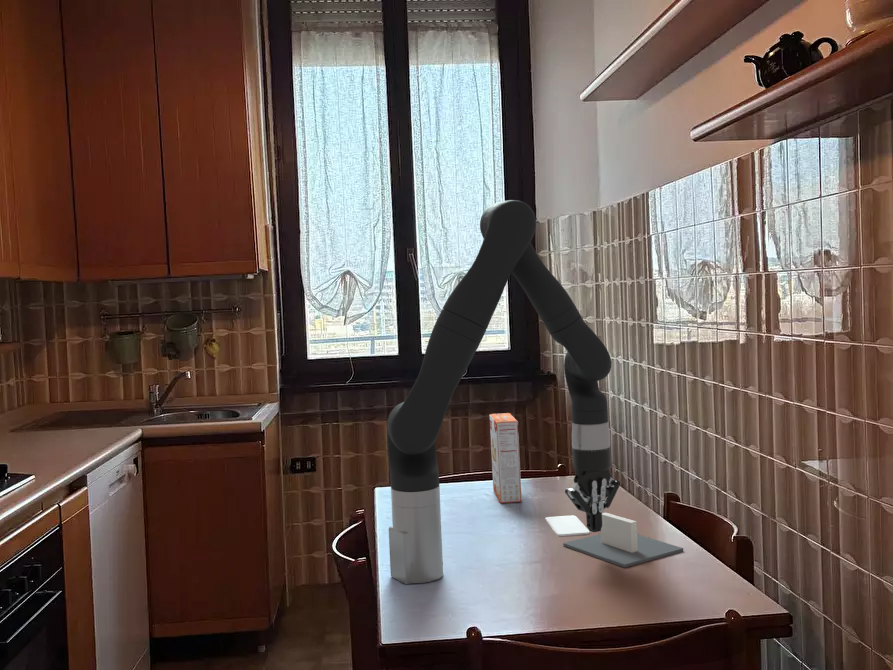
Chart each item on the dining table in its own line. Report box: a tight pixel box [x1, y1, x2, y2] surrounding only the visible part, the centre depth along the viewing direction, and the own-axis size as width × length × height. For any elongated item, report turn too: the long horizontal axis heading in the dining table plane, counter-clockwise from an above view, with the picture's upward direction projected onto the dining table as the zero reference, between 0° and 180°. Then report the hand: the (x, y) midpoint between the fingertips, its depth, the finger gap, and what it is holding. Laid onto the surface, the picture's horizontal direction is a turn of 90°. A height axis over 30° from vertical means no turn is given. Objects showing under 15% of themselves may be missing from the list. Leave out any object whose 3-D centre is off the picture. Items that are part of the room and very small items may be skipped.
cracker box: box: [489, 412, 523, 504], centre depth 222 cm, size 14×6×21 cm, turn 4°
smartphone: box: [544, 514, 591, 537], centre depth 193 cm, size 7×1×15 cm
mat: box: [562, 533, 684, 569], centre depth 175 cm, size 16×18×1 cm
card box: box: [599, 512, 638, 553], centre depth 174 cm, size 2×9×6 cm, turn 32°
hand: (594, 530), depth 171 cm, fingers closed
